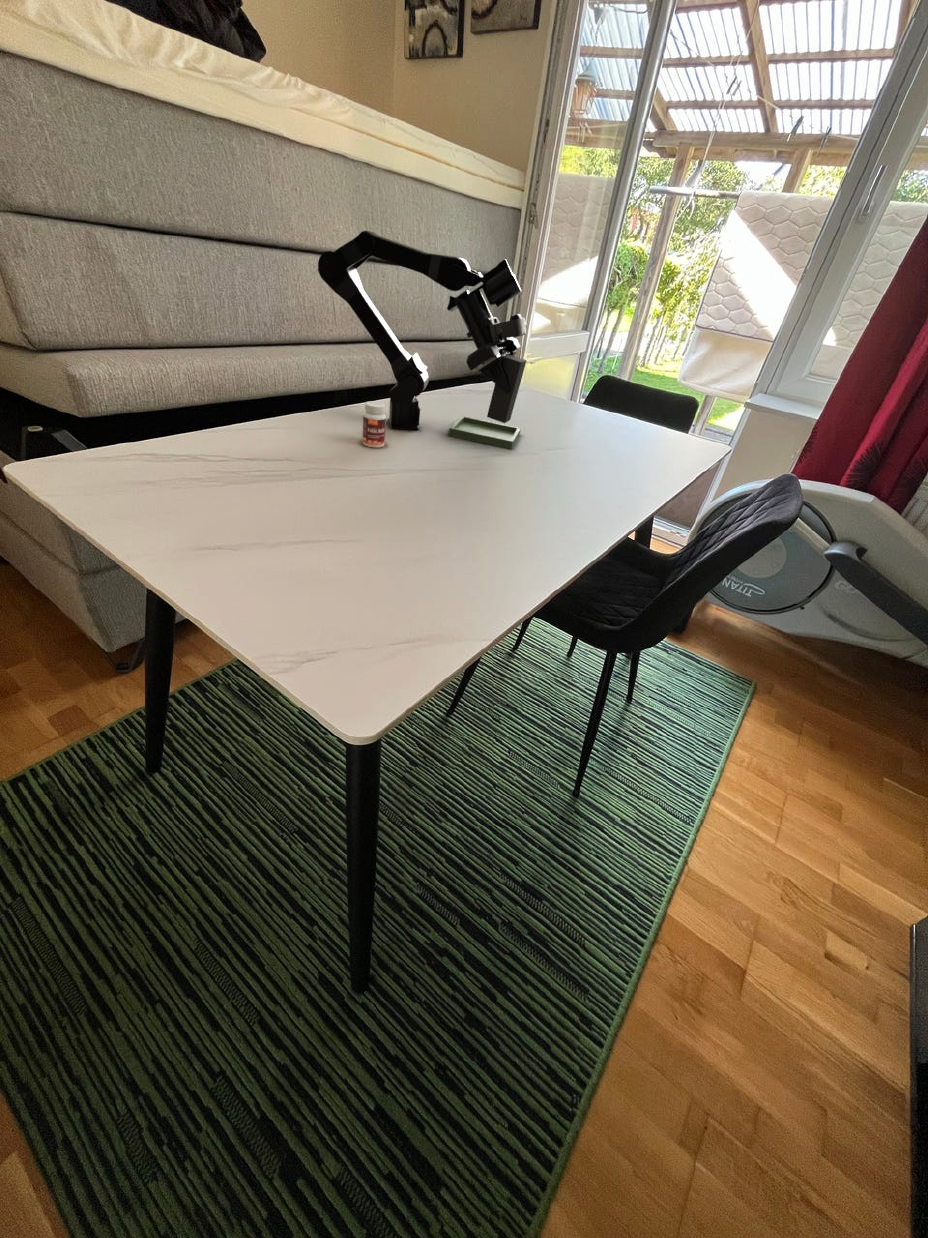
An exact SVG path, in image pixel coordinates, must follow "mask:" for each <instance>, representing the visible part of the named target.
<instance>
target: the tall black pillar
mask: <svg viewBox="0 0 928 1238" xmlns="http://www.w3.org/2000/svg"><path fill="white" fill-rule="evenodd" d="M526 364H527V360H526V359H524V358H522V357H519V356H516V355H515V356H512V355H509V354H506V355H505V359H504V364H503V366H504V370H505V373H506V376H507V379H508V382H509V385H510V388H511V391H510V392H509V393H506V392H504V391H503V390H502V389H501V388H500V387H498V386H497V385H496V384H495V383H494V385H493V390H492V394H491V398H490V403H489V407H488V411H487V416H486V418H489V419H491V420H494V421H498V422H500V423H501V424H506V423H507V422H509V421H511V418H512V415H513V411H514V408H515V403H516V400H517V396H518V393H519V391H520V390H519V389H520V386H521V382H522V379H523V375H524V371H525V368H526Z"/></svg>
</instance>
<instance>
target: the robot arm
mask: <svg viewBox="0 0 928 1238" xmlns="http://www.w3.org/2000/svg"><path fill="white" fill-rule="evenodd" d="M371 257H373V258H376V259H380V260H382V261H386V262H388V263H391V264H393V265H397V266H400V267H403V268H405V269H407V270H411V271H414V272H417V273H420V274H422V275H424V276H426V277H427V278H429V279H430V280H432V281H433V282H435V283H436V284H438V285H440V286H441V287H443V288H445V289H447V290H448V291H450V292H459V291H461V290H463V289H465V287H476V286H477V285H479V284H480V283H482V284H481V285H479V286H478V287H477V288H475V289H473V290H472V291H469V290H468V289H466V290H464V291H463V292H461V293H460V294H458V295H457V296H452V295H450V296H449V298H448V299H449V300H448V303H447V307H446V308H447V311H449V312H452V313H453V312H455V311H456V310H458V313H459V314H460V316H461V319H462V321H463V322H464V324H465V327H466V329H467V331H468V332H467V333H466V336H467V338H468V339H472V341H473V343H474V346H475V347H476V349H475V350H474V351H472V353H470V354H469V355H467V358H466V362H465V363H466V365H467V367H468V368H469V371H470V372H472V371H475V370H477V369H478V367H479V366H482V367H481V368H479V369H478V372H479V373H480V374H482V375H484V377H486V378H487V379H488V380H490V381H491V382H492V383H493V384H494V385H495V384H496V385H497V386H498V387H500V388H501V389H502V390H503V391H504V392H506V393H509V392H510V391H511V388H510V385H509V382H508V379H507V376H506V373H505V370H504V366H503V364H504V359H505V355H506V354H509V355H512V356H515V357H516V355H517V350H519V349H521V344H520V342H519V340H518V337H522V336H526V335H527V328H526V327H527V326H528V322H526V319H525V318H526V317H522V315H521V314H520V313H516V314H513V315H510V318H509V320H507V321H502V322H500V320H499V318H498V317H496V316H494V317H493V315H492V312H491V311H490V309H489V307H488V304H487V302H488V303H489V305H490V307H492V306H495V305H496V307H497V308H498V309H499V308H500V307H502V306H503V305H505V304H506V303H508V302H509V301H511V300H512V299H514V298H515V297H517V296H518V295H520V294H521V293H522V289H521V287H520V285H519V282H518V280H517V277H516V274H515V273H513V271H512V268H511V267H510V265H509V263H508V260H507V259H503V260H501V261H500V262H498V264H497V265H496V266H495V267H493V268H491V269H490V270H489V271H487V272H486V273H484V274H482V273H481V272H480V271H476V270H474V269H472V268H471V267H470V264H469V262H468V261H467V260H466V259H465V258H463V257H460V256H454V255H448V254H447V255H446V254H439V253H432V252H427V251H424V250H421V249H418V248H416V247H413V246H410V245H407V244H404V243H401V242H398V241H396V240H393V239H391V238H387V237H384V236H383V235H382V236H381V235H379V234H377V233H375V232H374V231H371V230H363V231H360V233H358V234H357V235H356V236H355V237H354V238H352V239H351V240H349V241H348V242H346V243H344V244H343V245H341V246H340V247H338V248H337V249H335V250H327V251H324V252H323V253H321V255H320V256H319V258H318V262H317V273H318V275H319V276H320V278H321V279H322V281H323V282H324V283H325V284H326V285H327V286H328V287H329V288H330V289H331V290H332V291H333V292H334V293H335V294H336V295H338V296H339V297H340V298H341V299H343V300H344V301H345V303H347V304H348V305H349V307H350V308H351V310H352V311H353V312H354V315H356V317H357V318H358V320H359V321H360V323H361V324H362V325H363V326H364V329H366V331H367V333H368V334H369V335H370V337H371V338H372V339H373V341H374V342H375V344H376V345H377V347H378V348H379V350H380V351H381V352H382V354H383V355H384V356H385V358H386V359H387V361H388V363H389V365H390V368H391V371H392V374H393V377H394V379H395V381H396V384H395V385H394V386H393V387H392V388H391V389H390V390H389V391H388V395H389V411H388V412H389V413H388V414H389V415H388V418H387V419H386V422H387V423H388V425H389V426H390V429H392V430H405V431H406V430H408V431H419V427H418V426H419V425H420V419H421V418H420V417H421V408H420V406H419V403H420V402H419V400H418V398H417V397H418V396H420V395H421V394H422V393H423V391H424V390H425V389H426V388H427V386H428V384H429V378H430V377H429V374H428V371H427V370H428V366H427V365H425V363H423V361H422V360H421V357H420V355H419V354H418V352H415V353H414V354H412V355H411V354H410V353H409V352H408V351H406V350H405V348H404V346H403V345H402V344H401V343H400V341H399V340H398V338H397V336H396V335H395V333H393V331H392V329H391V328H390V326H389V324H388V323H387V322H386V320H385V319H384V317H383V316H382V315H381V313H380V312H379V310H378V309H377V306H375V305H374V302H372V300H371V298H370V297H369V296H368V294H367V293H366V291H365V289H364V285H363V284H362V280H361V278H360V275H359V273H358V270H357V269H358V268H359V267H361V266H362V265H363V264H364V263H365V262H366V261H368V260H369V259H370V258H371ZM482 293H484V295H485V298H486V300H487V302H486V300H485V298H484V296H483V294H482Z"/></svg>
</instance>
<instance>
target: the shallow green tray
mask: <svg viewBox="0 0 928 1238" xmlns="http://www.w3.org/2000/svg"><path fill="white" fill-rule="evenodd" d="M521 431H522V428H521V427H517V426H513V425H509V424H504V423H498V422H494V421H489V420H484V419H480V418H474V417H470V416H465V415H461V416H460V417H459V418H458V419H457V420H456V421H455V422H454V423H453V424H452V425H451V426H450V427H449V428H448V436H449V437H454V438H457V439H463V440H468V441H471V442H477V443H480V444H486V445H490V446H495V447H500V448H503V449H508V450H513V447H514V446H515V444H516V442H517V440H518V439H519V437H520V435H521Z"/></svg>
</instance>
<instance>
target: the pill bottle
mask: <svg viewBox="0 0 928 1238" xmlns="http://www.w3.org/2000/svg"><path fill="white" fill-rule="evenodd" d="M385 407H386V406H385V404H384V403H383V402H379V401H373V400H372V401H371V400H370V401H369V400H368V401H366V402H365V403H364V410H365V411H364V412H363V414H362V444H363V445H364V446H365V447H369V448H375V449H376V448H377V449H378V448H382V447H384V446H385V444H386V443H385V439H386V427H387V426H386V425H387V424H386V423H387V416H386V414H385V411H386V408H385Z"/></svg>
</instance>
